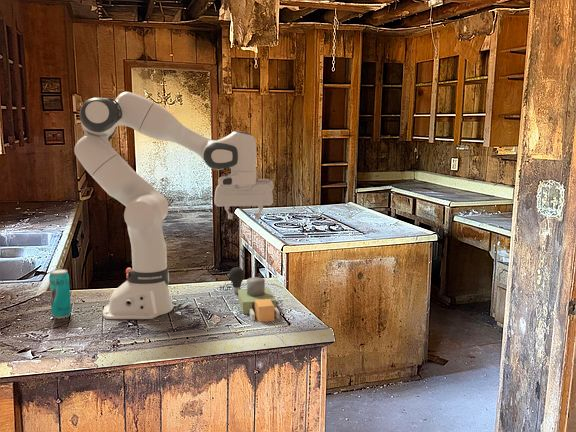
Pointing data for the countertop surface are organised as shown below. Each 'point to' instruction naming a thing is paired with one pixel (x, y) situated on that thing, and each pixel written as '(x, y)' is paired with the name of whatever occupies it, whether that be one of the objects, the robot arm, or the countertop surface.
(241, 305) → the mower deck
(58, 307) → the beverage can
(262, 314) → the tall orange cuboid
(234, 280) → the light bulb
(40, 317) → the countertop surface
